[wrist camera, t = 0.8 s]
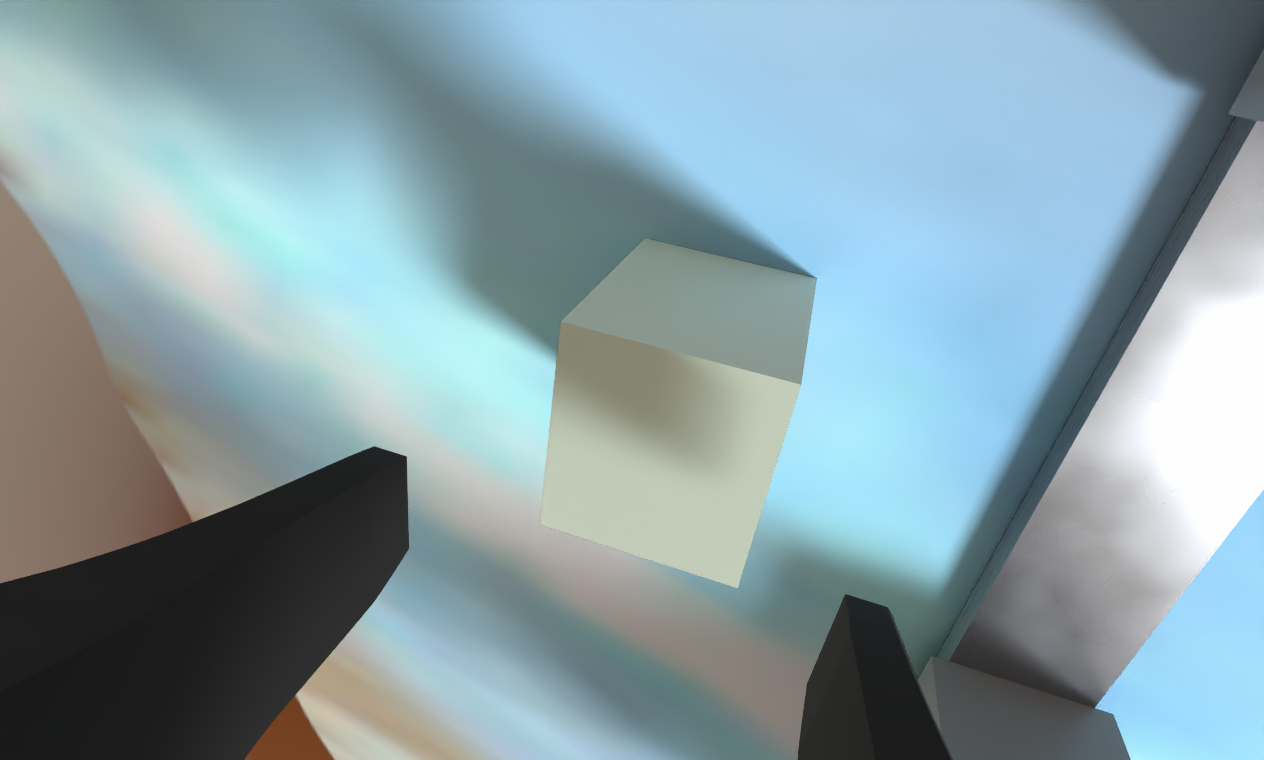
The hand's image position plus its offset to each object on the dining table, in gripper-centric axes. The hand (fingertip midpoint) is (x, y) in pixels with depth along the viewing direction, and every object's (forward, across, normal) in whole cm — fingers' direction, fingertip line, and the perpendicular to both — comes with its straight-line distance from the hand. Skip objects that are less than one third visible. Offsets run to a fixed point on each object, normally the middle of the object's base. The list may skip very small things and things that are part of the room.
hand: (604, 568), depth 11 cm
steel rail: (+9, -11, 0) cm, 14 cm away
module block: (+9, 0, 0) cm, 9 cm away
